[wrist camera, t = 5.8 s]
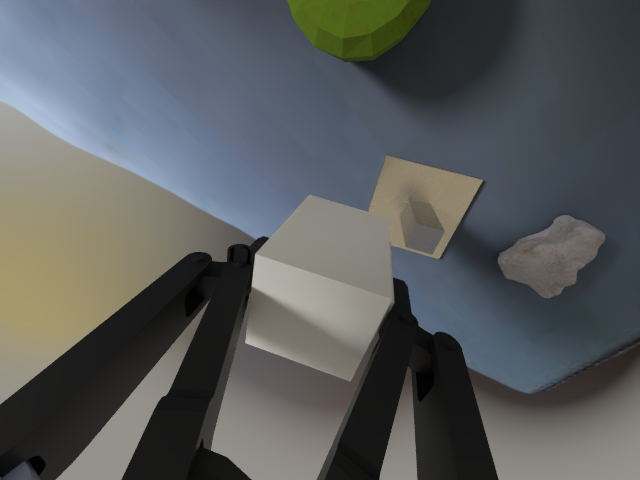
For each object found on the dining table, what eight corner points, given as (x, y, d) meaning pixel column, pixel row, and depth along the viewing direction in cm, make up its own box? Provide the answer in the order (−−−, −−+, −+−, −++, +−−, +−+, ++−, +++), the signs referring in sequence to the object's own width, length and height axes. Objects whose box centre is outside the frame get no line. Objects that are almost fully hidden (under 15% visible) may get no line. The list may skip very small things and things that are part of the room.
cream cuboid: (309, 194, 17) (255, 254, 10) (387, 217, 17) (392, 299, 9) (295, 259, 20) (245, 342, 13) (362, 281, 20) (350, 381, 12)
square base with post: (386, 154, 31) (388, 169, 23) (481, 178, 30) (516, 202, 22) (360, 234, 37) (354, 267, 29) (438, 256, 36) (454, 297, 28)
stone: (483, 261, 35) (500, 286, 30) (532, 200, 30) (563, 217, 25) (537, 282, 35) (565, 311, 30) (596, 223, 30) (641, 245, 25)
